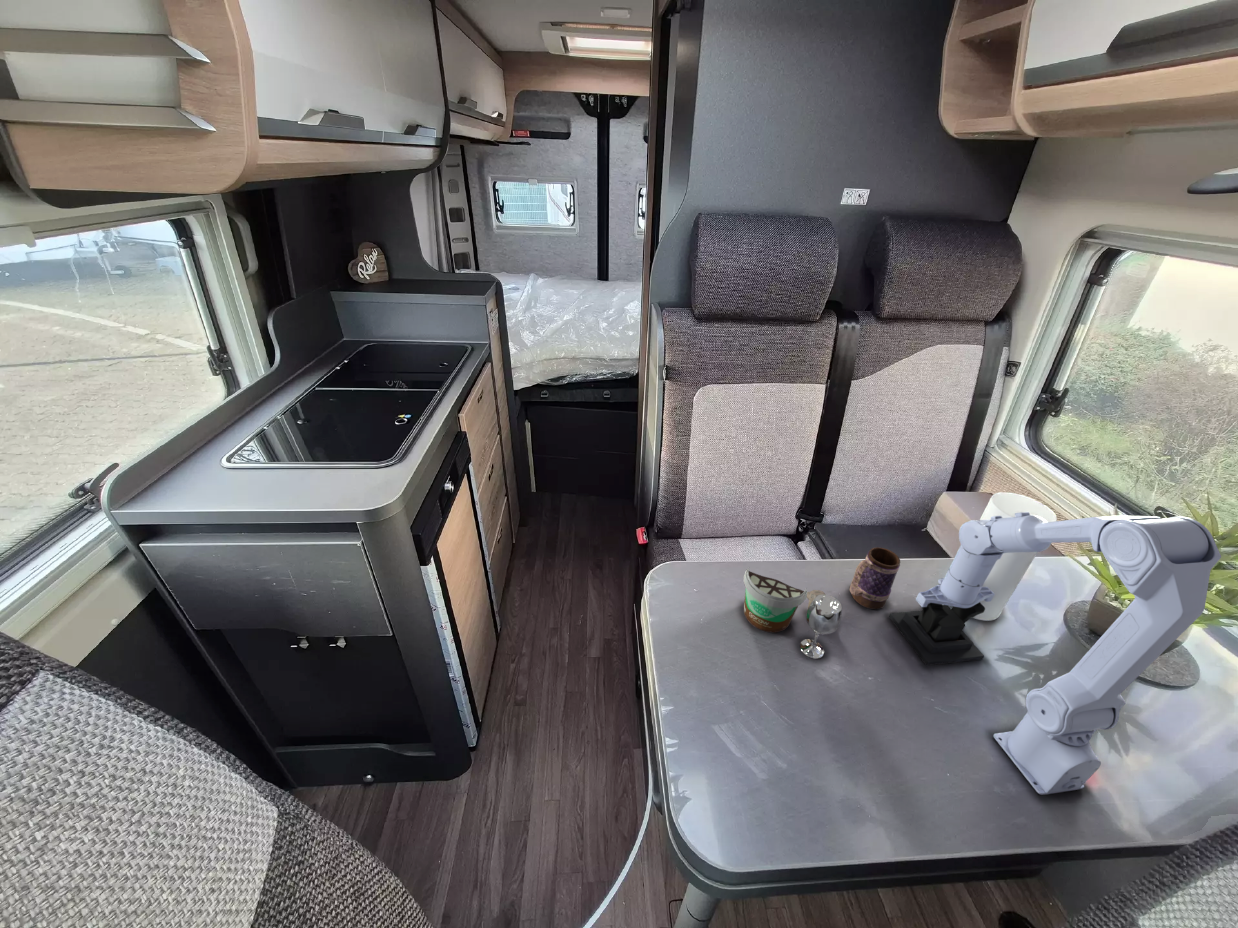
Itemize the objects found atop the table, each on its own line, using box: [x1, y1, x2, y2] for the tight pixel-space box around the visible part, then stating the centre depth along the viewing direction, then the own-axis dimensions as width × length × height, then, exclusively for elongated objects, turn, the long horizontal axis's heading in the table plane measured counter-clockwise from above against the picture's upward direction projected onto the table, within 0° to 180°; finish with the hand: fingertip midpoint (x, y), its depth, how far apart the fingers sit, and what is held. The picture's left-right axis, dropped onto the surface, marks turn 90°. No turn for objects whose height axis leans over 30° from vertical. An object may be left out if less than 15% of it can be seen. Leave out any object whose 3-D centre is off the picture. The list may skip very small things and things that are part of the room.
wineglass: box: [799, 594, 843, 660], centre depth 97 cm, size 6×6×12 cm
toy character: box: [806, 589, 827, 609], centre depth 106 cm, size 4×8×6 cm, turn 13°
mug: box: [849, 546, 901, 610], centre depth 109 cm, size 10×7×12 cm
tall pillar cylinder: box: [972, 491, 1058, 622], centre depth 107 cm, size 11×11×25 cm
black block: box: [917, 605, 966, 643], centre depth 102 cm, size 5×5×5 cm
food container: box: [743, 567, 808, 633], centre depth 102 cm, size 12×6×10 cm, turn 62°
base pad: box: [888, 610, 985, 666], centre depth 103 cm, size 12×12×3 cm
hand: (939, 627), depth 103 cm, fingers closed on black block, 5 cm apart
